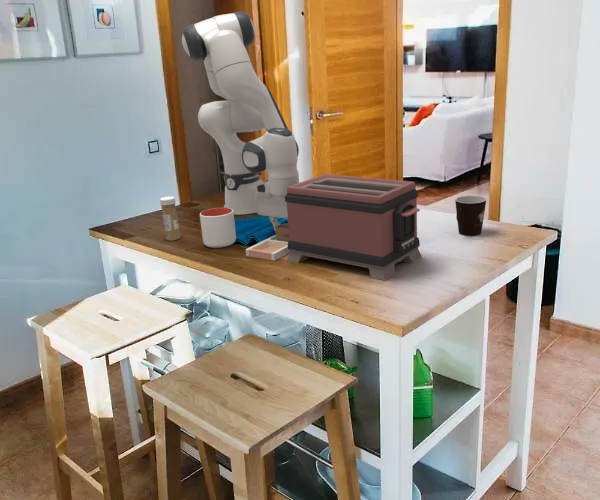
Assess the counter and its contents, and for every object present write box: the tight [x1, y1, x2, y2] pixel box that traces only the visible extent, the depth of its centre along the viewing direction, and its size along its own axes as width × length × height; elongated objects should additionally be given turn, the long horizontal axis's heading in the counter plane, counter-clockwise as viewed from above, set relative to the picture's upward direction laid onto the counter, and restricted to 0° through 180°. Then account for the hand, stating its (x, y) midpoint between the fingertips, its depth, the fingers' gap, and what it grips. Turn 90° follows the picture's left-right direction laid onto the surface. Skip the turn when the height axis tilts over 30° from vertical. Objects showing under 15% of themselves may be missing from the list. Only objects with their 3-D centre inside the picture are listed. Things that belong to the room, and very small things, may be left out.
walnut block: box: [275, 222, 290, 242], centre depth 177 cm, size 5×5×5 cm
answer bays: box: [245, 234, 290, 261], centre depth 174 cm, size 19×10×2 cm, turn 146°
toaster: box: [285, 173, 423, 282], centre depth 157 cm, size 19×34×21 cm, turn 51°
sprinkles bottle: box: [159, 196, 181, 242], centre depth 189 cm, size 5×5×13 cm
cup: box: [199, 207, 237, 249], centre depth 181 cm, size 10×10×10 cm
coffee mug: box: [454, 195, 487, 237], centre depth 173 cm, size 12×9×10 cm
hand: (287, 231), depth 177 cm, fingers open, 6 cm apart
